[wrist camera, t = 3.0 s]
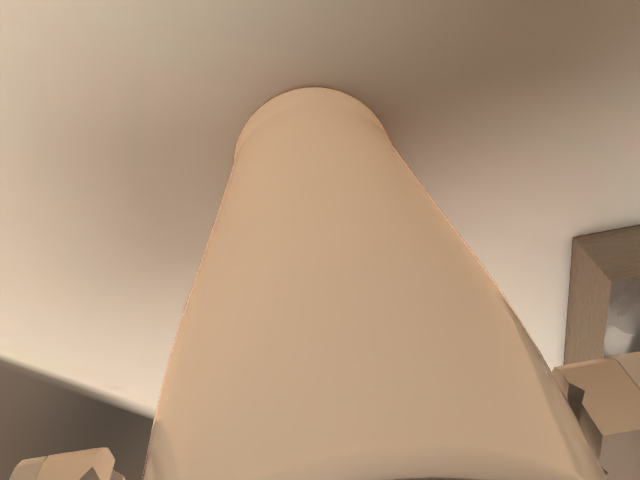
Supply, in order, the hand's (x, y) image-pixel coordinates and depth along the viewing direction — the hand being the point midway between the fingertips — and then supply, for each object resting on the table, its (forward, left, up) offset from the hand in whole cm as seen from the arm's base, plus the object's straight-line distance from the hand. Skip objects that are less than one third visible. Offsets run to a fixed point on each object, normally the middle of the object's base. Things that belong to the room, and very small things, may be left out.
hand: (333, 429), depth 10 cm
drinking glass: (0, 0, -12) cm, 12 cm away
